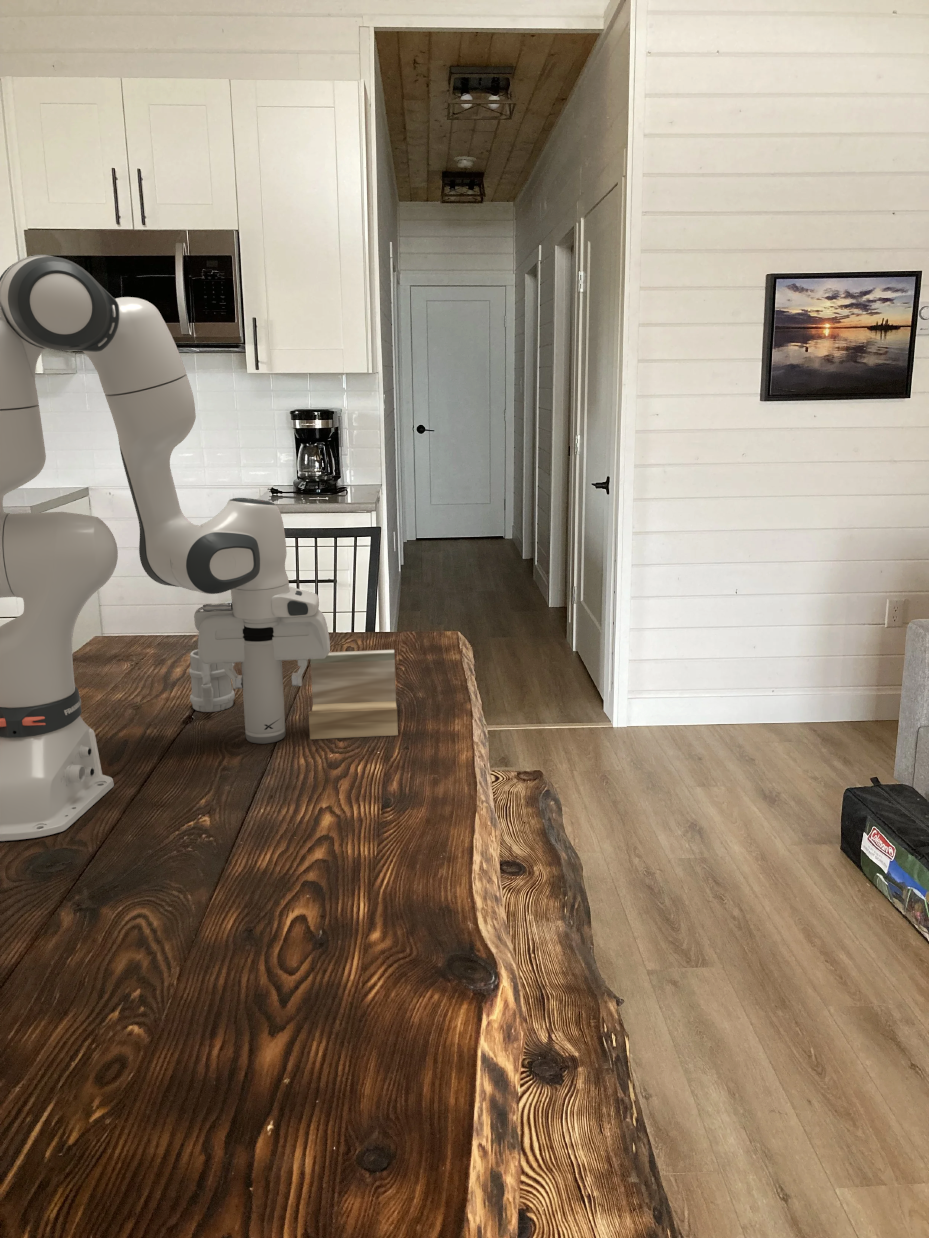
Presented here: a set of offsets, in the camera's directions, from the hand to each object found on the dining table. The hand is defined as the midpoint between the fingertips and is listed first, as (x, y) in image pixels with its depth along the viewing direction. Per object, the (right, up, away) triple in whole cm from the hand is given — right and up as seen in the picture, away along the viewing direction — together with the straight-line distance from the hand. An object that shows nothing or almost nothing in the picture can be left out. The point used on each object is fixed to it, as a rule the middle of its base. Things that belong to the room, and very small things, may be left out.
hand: (268, 686), depth 150 cm
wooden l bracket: (+13, -7, +7) cm, 16 cm away
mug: (-13, -5, +16) cm, 21 cm away
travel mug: (-1, -9, +2) cm, 9 cm away
